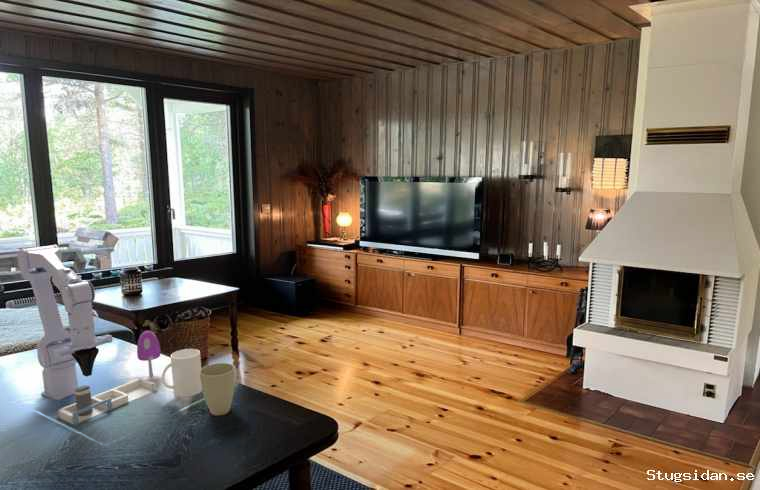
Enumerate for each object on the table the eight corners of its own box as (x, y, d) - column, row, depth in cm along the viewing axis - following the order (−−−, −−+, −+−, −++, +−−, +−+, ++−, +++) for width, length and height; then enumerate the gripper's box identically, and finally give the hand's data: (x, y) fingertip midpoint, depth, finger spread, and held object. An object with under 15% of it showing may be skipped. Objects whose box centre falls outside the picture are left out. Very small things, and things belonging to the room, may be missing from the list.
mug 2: (246, 409, 144) (244, 367, 142) (213, 422, 136) (210, 379, 135) (225, 397, 151) (222, 357, 149) (192, 409, 144) (189, 368, 142)
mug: (169, 405, 147) (166, 364, 145) (157, 396, 153) (153, 357, 151) (209, 391, 155) (206, 353, 153) (195, 383, 161) (192, 346, 159)
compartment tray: (58, 419, 140) (56, 405, 139) (141, 386, 160) (140, 373, 159) (75, 427, 135) (73, 413, 135) (158, 392, 155) (157, 379, 155)
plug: (74, 414, 141) (71, 389, 140) (88, 408, 144) (85, 384, 143) (81, 417, 139) (78, 392, 138) (95, 411, 142) (92, 387, 141)
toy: (166, 374, 168) (163, 329, 166) (148, 382, 162) (143, 335, 160) (154, 370, 172) (150, 326, 169) (135, 377, 166) (130, 332, 164)
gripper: (60, 337, 132) (66, 388, 135) (116, 322, 144) (121, 369, 147) (47, 332, 136) (53, 382, 139) (102, 318, 148) (107, 363, 150)
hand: (87, 375), depth 143 cm, fingers closed
